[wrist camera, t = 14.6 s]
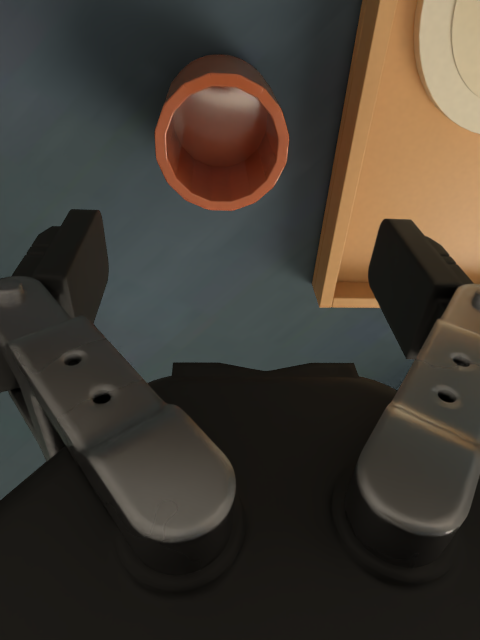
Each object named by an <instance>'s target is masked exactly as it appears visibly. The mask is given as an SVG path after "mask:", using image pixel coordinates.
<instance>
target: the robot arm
mask: <svg viewBox="0 0 480 640" xmlns="http://www.w3.org/2000/svg"><path fill="white" fill-rule="evenodd" d="M108 273H109V264H108V256H107V249H106V242H105V235H104V228H103V221H102V216H101V213H100V211H99V210H80V209H71V210H70V211H69V213H68V215H67V216H66V218H65V220H64V222H63V223H62V225H61V226H52V227H50V228H48V229H47V230H45V231H44V232H42V233H41V234H39V235H38V236H37V238H36V239H35V241H34V242H33V244H32V247H30V249H29V250H28V252H27V255H25V256H24V258H23V259H22V261H21V262H20V264H19V265H18V267H17V268H16V270H15V272H14V273H13V275H12V276H11V277H5V278H1V279H0V392H3V391H8V392H9V394H10V396H11V398H12V400H13V401H14V403H15V405H16V406H17V408H18V410H19V412H20V413H21V415H22V417H23V418H24V420H25V422H26V423H27V425H28V427H29V429H30V430H31V432H32V434H33V435H34V437H35V439H36V441H37V442H38V444H39V446H40V448H41V450H42V453H43V455H44V457H45V459H46V462H45V463H44V464H43V465H42V466H41V467H39V468H38V469H37V470H36V471H35V472H34V473H32V474H31V475H30V476H29V477H28V478H26V479H25V480H24V481H23V482H22V483H21V484H19V485H18V486H17V487H16V488H15V489H13V490H12V491H11V492H10V493H9V494H7V495H6V496H5V497H4V498H3V499H2V500H0V640H480V284H474V283H473V282H472V281H471V279H470V278H469V277H468V276H467V275H466V274H465V272H464V271H463V270H462V269H461V268H460V267H459V265H456V262H455V261H454V259H453V258H452V257H449V254H448V252H447V251H446V250H445V249H444V248H443V246H442V245H440V244H439V243H437V242H436V241H434V240H432V239H431V238H429V237H428V236H424V234H423V233H422V232H421V231H420V229H419V228H418V227H417V226H416V224H415V223H414V222H413V221H412V220H411V219H384V220H383V221H382V222H381V224H380V227H379V230H378V234H377V238H376V241H375V245H374V249H373V253H372V256H371V260H370V264H369V269H368V282H369V286H370V288H371V290H372V292H373V294H374V296H375V298H376V300H377V302H378V304H379V306H380V308H381V310H382V312H383V314H384V316H385V318H386V320H387V322H388V324H389V326H390V328H391V330H392V331H393V333H394V335H395V337H396V339H397V341H398V343H399V345H400V347H401V349H402V351H403V353H404V355H405V357H406V359H415V360H414V362H413V364H412V366H411V368H410V369H409V371H408V373H407V375H406V377H405V378H404V380H403V382H402V384H401V386H400V387H399V389H398V391H397V390H395V389H393V388H391V387H389V386H387V385H385V384H382V383H380V382H377V381H374V380H371V379H367V378H364V377H359V376H358V373H357V370H356V368H355V365H354V363H308V364H303V365H297V366H292V367H287V368H282V369H277V370H272V371H260V370H255V369H250V368H244V367H239V366H234V365H228V364H223V363H173V370H172V376H169V377H164V378H161V379H157V380H154V381H152V382H149V383H146V381H145V380H144V379H143V378H142V377H141V376H140V375H139V374H138V373H137V372H136V371H135V369H134V368H133V367H132V366H131V365H130V364H129V363H128V362H127V361H126V360H125V358H124V357H123V356H122V355H121V354H120V353H119V352H118V351H117V350H116V349H115V347H114V346H113V345H112V344H111V343H110V342H109V341H108V340H107V339H106V338H105V337H104V335H103V334H102V333H101V332H100V331H99V330H98V329H97V328H96V327H95V326H94V324H93V323H94V320H95V317H96V314H97V311H98V308H99V305H100V302H101V299H102V296H103V293H104V290H105V287H106V284H107V281H108Z"/></svg>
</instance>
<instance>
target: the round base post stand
mask: <svg viewBox="0 0 480 640" xmlns="http://www.w3.org/2000/svg"><path fill="white" fill-rule="evenodd" d="M413 35H414V54H415V60H416V66H417V70H418V73H419V77H420V80H421V83H422V85H423V87H424V89H425V91H426V93H427V95H428V97H429V98H430V100H431V101H432V103H433V104H434V106H435V107H436V108H437V109H438V110H439V111H440V112H441V113H442V114H443V115H444V116H445V117H447V118H448V119H450V120H451V121H452V122H454V123H455V124H457V125H459V126H460V127H462V128H465V129H467V130H469V131H471V132H474V133H478V134H480V0H418V1H417V6H416V11H415V20H414V33H413Z"/></svg>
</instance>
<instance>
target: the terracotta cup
mask: <svg viewBox="0 0 480 640" xmlns="http://www.w3.org/2000/svg"><path fill="white" fill-rule="evenodd" d="M154 134H155V150H156V159H157V162H158V164H159V166H160V168H161V170H162V173H163V175H164V177H165V179H166V181H167V182H168V184H169V185H170V186H171V187H172V188H173V189H174V190H175V191H176V192H177V193H178V194H179V195H181V196H182V197H183V198H184V199H185V200H186V201H188V202H191V203H193V204H195V205H198V206H200V207H203V208H205V209H207V210H208V209H209V210H228V211H232V210H236V209H239V208H241V207H244V206H247V205H250V204H253V203H255V202H257V201H258V200H259V199H260V198H261V197H263V196H264V195H265V194H266V193H267V192H268V191H269V190H271V189H272V188H273V187H274V186H275V184H276V182H277V180H278V179H279V177H280V175H281V173H282V171H283V169H284V167H285V165H286V162H287V155H288V146H289V133H288V129H287V126H286V122H285V118H284V115H283V111H282V109H281V107H280V105H279V103H278V101H277V99H276V97H275V96H274V94H273V92H272V90H271V88H270V86H269V85H268V83H267V82H266V81H265V79H264V78H263V76H262V75H261V74H260V73H259V72H258V71H257V69H255V68H254V67H253V66H252V65H251V64H249V63H247V62H246V61H244V60H242V59H240V58H238V57H234V56H231V55H224V54H213V55H208V56H204V57H201V58H198V59H197V60H195V61H193V62H191V63H190V64H188V65H187V66H186V67H185V68H183V69H182V70H181V71H180V72H179V74H178V75H177V76H176V78H175V79H174V80H173V81H172V83H171V85H170V88H169V91H168V94H167V96H166V99H165V102H164V105H163V108H162V111H161V114H160V117H159V119H158V122H157V125H156V128H155V133H154Z"/></svg>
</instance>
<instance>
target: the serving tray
mask: <svg viewBox="0 0 480 640" xmlns="http://www.w3.org/2000/svg"><path fill="white" fill-rule="evenodd" d="M417 1H418V0H362V6H361V11H360V17H359V22H358V28H357V34H356V39H355V45H354V51H353V56H352V62H351V67H350V73H349V79H348V84H347V90H346V96H345V101H344V107H343V112H342V118H341V124H340V129H339V135H338V141H337V146H336V152H335V157H334V163H333V169H332V174H331V180H330V186H329V191H328V197H327V203H326V208H325V214H324V219H323V225H322V231H321V236H320V242H319V248H318V253H317V259H316V264H315V270H314V276H313V281H312V286H313V289H314V292H315V295H316V298H317V301H318V304H319V307H324V308H331V307H344V308H380V306H379V304H378V302H377V300H376V298H375V296H374V294H373V292H372V290H371V288H370V286H369V282H368V269H369V264H370V260H371V256H372V253H373V249H374V245H375V241H376V238H377V234H378V230H379V227H380V224H381V222H382V221H383V220H384V219H411V220H412V221H413V222H414V223H415V224H416V226H417V227H418V228H419V229H420V231H421V232H422V233H423V234H424V236H428V237H429V238H431V239H432V240H434V241H436V242H437V243H439V244H440V245H442V246H443V248H444V249H445V250H446V251H447V252H448V254H449V257H452V258H453V259H454V261H455V262H456V265H459V267H460V268H461V269H462V270H463V271H464V272H465V274H466V275H467V276H468V277H469V278H470V279H471V281H472V282H473V283H474V284H480V134H478V133H474V132H471V131H469V130H467V129H465V128H462V127H460V126H459V125H457V124H455V123H454V122H452V121H451V120H450V119H448V118H447V117H445V116H444V115H443V114H442V113H441V112H440V111H439V110H438V109H437V108H436V107H435V106H434V104H433V103H432V101H431V100H430V98H429V97H428V95H427V93H426V91H425V89H424V87H423V85H422V83H421V80H420V77H419V73H418V70H417V66H416V60H415V54H414V35H413V33H414V20H415V11H416V6H417Z"/></svg>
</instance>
